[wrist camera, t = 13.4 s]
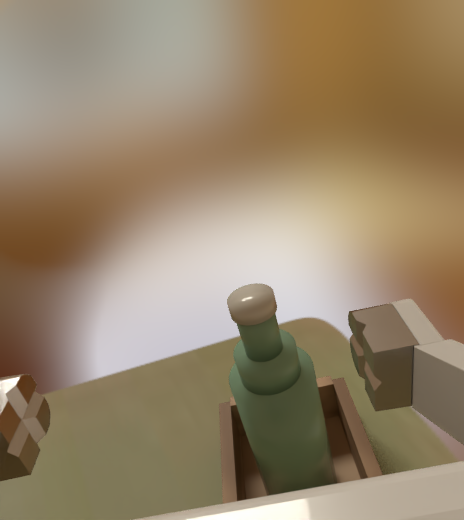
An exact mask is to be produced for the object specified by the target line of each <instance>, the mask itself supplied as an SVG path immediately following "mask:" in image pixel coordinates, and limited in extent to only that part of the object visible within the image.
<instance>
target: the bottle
mask: <svg viewBox="0 0 464 520" xmlns="http://www.w3.org/2000/svg"><path fill="white" fill-rule="evenodd" d="M227 304H228V308H229V311H230V314H231V317H232V320H233V321H235V323H237V326H238V329H239V332H240V336H241V340H240V341H239V342H238V343H237V345H236V347H235V349H234V360H235V364H234V365H233V367H232V369H231V372H230V375H229V384H230V388H231V391H232V394H233V397H234V399H235V402H236V405H237V408H238V411H239V414H240V417H241V420H242V423H243V426H244V429H245V432H246V435H247V438H248V441H249V444H250V446H251V449H252V452H253V455H254V458H255V461H256V464H257V467H258V470H259V473H260V476H261V479H262V482H263V485H264V488H265V491H266V493H267V496H269V495H275V494H281V493H286V492H292V491H298V490H303V489H309V488H314V487H320V486H326V485H331V484H337V477H336V472H335V467H334V463H333V458H332V453H331V448H330V443H329V438H328V434H327V429H326V424H325V419H324V414H323V410H322V405H321V400H320V395H319V390H318V385H317V381H316V376H315V371H314V366H313V362H312V360H311V358H310V356H309V355H308V354H307V353H306V352H305V351H304V350H302V349H301V348H299V347H297V346H296V343H295V340H294V338H293V336H292V335H291V334H289V333H288V332H286V331H284V330H281V329H279V327H278V323H277V319H276V315H275V312H276V310H277V305H276V301H275V296H274V292H273V289H272V288H271V287H269V286H267V285H265V284H250V285H246V286H243V287H241V288H238V289H236V290H235V291H234V292H232V293H231V294H230V296H229V297H228V299H227Z"/></svg>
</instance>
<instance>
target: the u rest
mask: <svg viewBox="0 0 464 520" xmlns="http://www.w3.org/2000/svg"><path fill="white" fill-rule="evenodd" d="M316 381H317V385H318V390H319V395H320V400H321V405H322V410H323V414H324V419H325V424H326V429H327V434H328V438H329V443H330V448H331V453H332V458H333V463H334V467H335V472H336V477H337V483H343V482H348V481H354V480H360V479H365V478H371V477H377V476H382V475H383V474H382V472H381V469H380V467H379V464H378V462H377V459H376V457H375V454H374V452H373V449H372V447H371V444H370V442H369V439H368V437H367V435H366V432H365V430H364V427H363V425H362V422H361V420H360V417H359V415H358V412H357V410H356V407H355V405H354V402H353V400H352V398H351V395H350V393H349V390H348V388H347V385H346V383H345V380H344V378H338V379H333V380H332V379H331V376H326V377H322V378H317V379H316ZM219 413H220V439H221V466H222V492H223V504H224V503H230V502H236V501H241V500H247V499H252V498H258V497H264V496H267V493H266V491H265V488H264V485H263V482H262V479H261V476H260V473H259V470H258V467H257V464H256V461H255V458H254V455H253V452H252V449H251V446H250V444H249V441H248V438H247V435H246V432H245V429H244V426H243V423H242V420H241V417H240V414H239V411H238V408H237V405H236V402H235V399H234V397H230V402H225V403H221V404H219Z"/></svg>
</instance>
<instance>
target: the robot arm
mask: <svg viewBox="0 0 464 520" xmlns="http://www.w3.org/2000/svg"><path fill="white" fill-rule="evenodd" d="M348 320H349V326H350V328H351V330H352V333H353V335H352V336H351V338H350V346H351V353H352V357H353V361H354V364H355V367H356V370H357V372H358V374H359V376H360V377H362V378H364V379H365V390H366V392H367V394H368V396H369V398H370V401H371V403H372V405H373V407H374V409H375V411H382V410H388V409H395V408H401V407H408V406H412V408H414V409H415V410H416V411H418V412H419V413H421V414H422V415H423V416H425V417H426V418H427V419H429V420H430V421H431V422H433V423H434V424H436V425H437V426H438V427H440V428H441V429H442V430H444V431H445V432H446V433H448V434H449V435H450V436H452V437H453V438H455V439H456V440H457V441H459V442H460V443H461V444H463V445H464V344H461V343H458V342H457V341H454V340H452V339H449V340H444V339H443V337H442V336H441V335H440V333H439V332H438V331H437V330H436V328H435V327H434V326H433V325H432V323H431V322H430V321H429V320H428V319H427V317H426V316H425V315H424V313H423V312H422V311H421V309H420V308H419V307H418V306H417V304H416V303H415V302H414V301H413V300H412V299H405V300H401V301H396V302H391V303H389V304H384V305H380V306H374V307H369V308H365V309H360V310H354V311H349V315H348ZM36 386H37V384H36V382H35V381H34V379H33V378H32V376H31V375H28V374H21V375H15V376H9V377H4V378H0V481H4V480H8V479H13V478H18V477H22V476H27V475H31V473H32V470H33V467H34V465H35V462H36V460H37V457H38V455H39V452H40V449H39V446H38V444H37V443H38V442H39V441H40V440H41V439H42V438H43V437H44V436H45V435H46V434H47V431H48V428H49V425H50V409H49V405H48V403H47V401H46V399H45V397H43V396H42V395H40V394H38V393H36V392H35V389H36ZM134 520H464V461H461V462H456V463H450V464H444V465H439V466H433V467H427V468H422V469H416V470H410V471H405V472H399V473H393V474H388V475H382V476H377V477H371V478H365V479H360V480H354V481H348V482H343V483H337V484H331V485H326V486H320V487H314V488H309V489H303V490H298V491H292V492H286V493H281V494H275V495H269V496H264V497H258V498H252V499H247V500H241V501H236V502H230V503H224V504H219V505H213V506H207V507H202V508H196V509H191V510H185V511H179V512H174V513H168V514H162V515H157V516H151V517H145V518H140V519H134Z"/></svg>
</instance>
